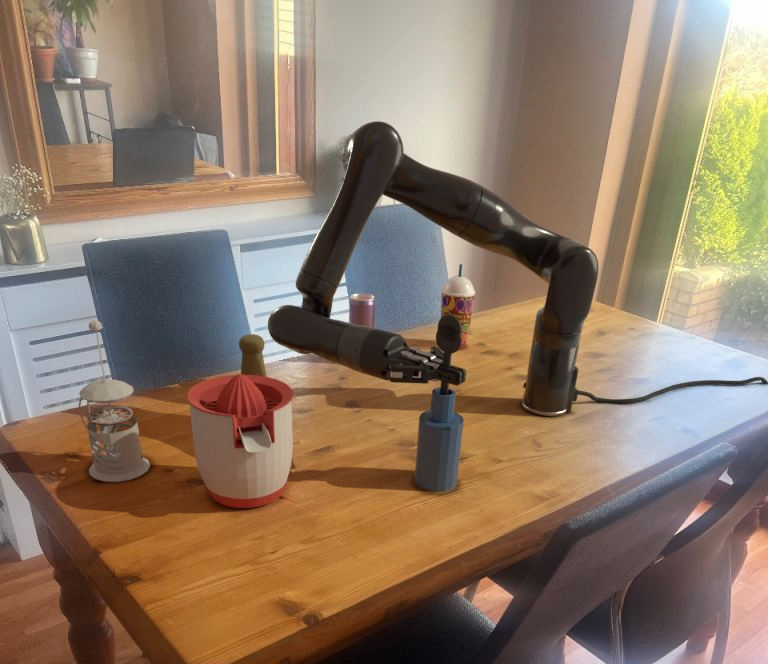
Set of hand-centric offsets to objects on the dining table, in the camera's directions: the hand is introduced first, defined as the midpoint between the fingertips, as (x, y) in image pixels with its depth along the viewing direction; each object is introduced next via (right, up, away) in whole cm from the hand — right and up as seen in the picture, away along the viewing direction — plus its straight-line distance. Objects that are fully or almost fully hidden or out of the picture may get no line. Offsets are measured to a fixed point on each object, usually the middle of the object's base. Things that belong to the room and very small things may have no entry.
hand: (462, 377), depth 109 cm
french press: (-57, -13, +12) cm, 60 cm away
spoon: (-3, -15, +11) cm, 19 cm away
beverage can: (-18, +15, +61) cm, 66 cm away
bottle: (-3, -16, +12) cm, 20 cm away
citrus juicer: (-34, -18, +6) cm, 39 cm away
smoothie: (+6, +22, +74) cm, 77 cm away
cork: (-40, +6, +45) cm, 60 cm away
